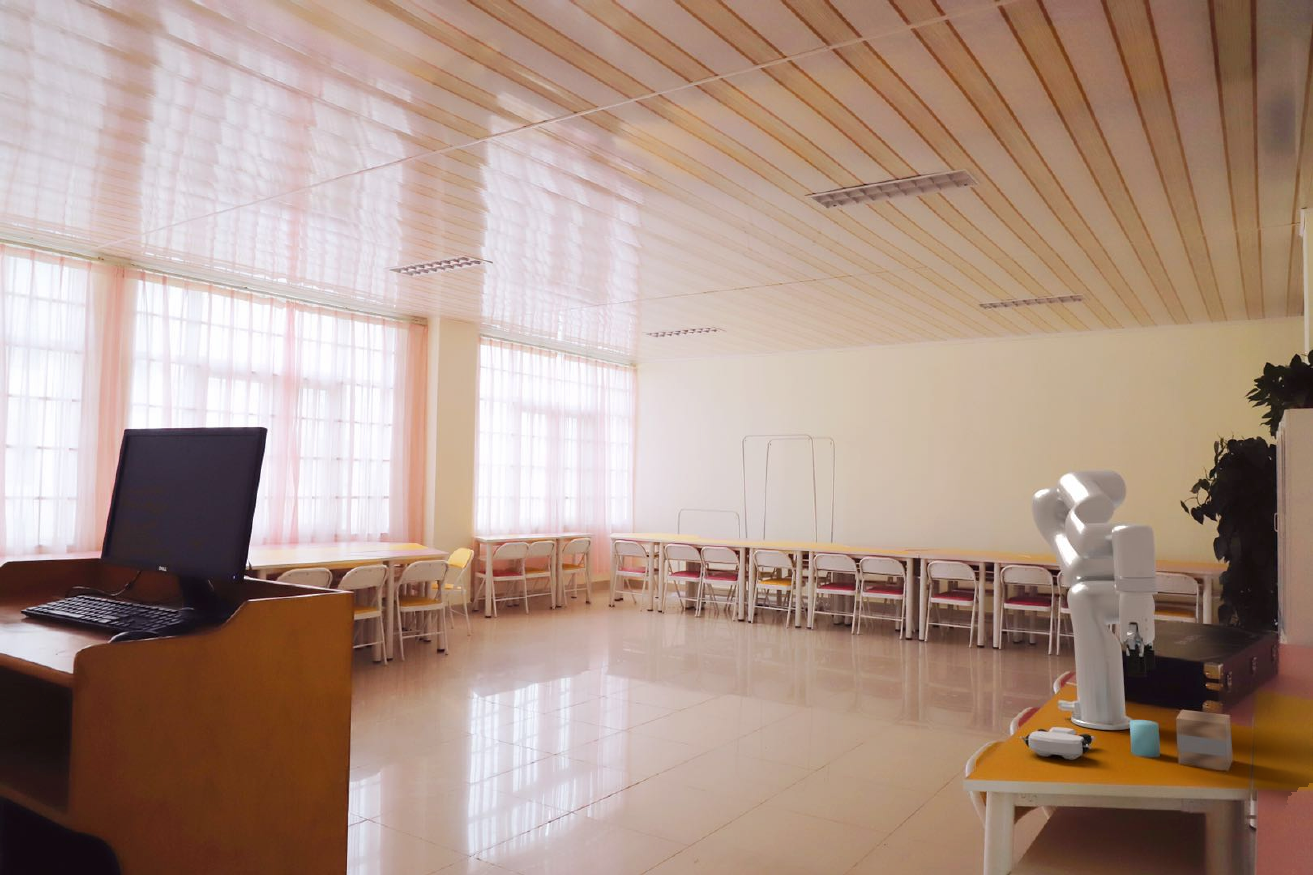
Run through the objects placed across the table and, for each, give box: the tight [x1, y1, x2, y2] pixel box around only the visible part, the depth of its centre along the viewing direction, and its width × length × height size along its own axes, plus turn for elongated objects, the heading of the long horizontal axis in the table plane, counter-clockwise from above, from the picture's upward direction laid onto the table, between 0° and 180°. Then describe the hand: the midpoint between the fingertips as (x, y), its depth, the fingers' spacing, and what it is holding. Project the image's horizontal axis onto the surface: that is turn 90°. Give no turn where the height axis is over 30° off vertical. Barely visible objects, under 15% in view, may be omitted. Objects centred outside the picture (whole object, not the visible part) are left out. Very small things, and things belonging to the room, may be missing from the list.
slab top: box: [1175, 709, 1232, 740], centre depth 172 cm, size 8×8×3 cm
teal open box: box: [1129, 719, 1161, 758], centre depth 178 cm, size 5×5×6 cm
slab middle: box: [1176, 730, 1233, 757], centre depth 171 cm, size 8×8×3 cm
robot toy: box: [1019, 726, 1096, 761], centre depth 180 cm, size 12×4×15 cm
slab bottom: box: [1177, 747, 1234, 772], centre depth 171 cm, size 8×8×3 cm
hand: (1141, 672), depth 178 cm, fingers open, 9 cm apart
